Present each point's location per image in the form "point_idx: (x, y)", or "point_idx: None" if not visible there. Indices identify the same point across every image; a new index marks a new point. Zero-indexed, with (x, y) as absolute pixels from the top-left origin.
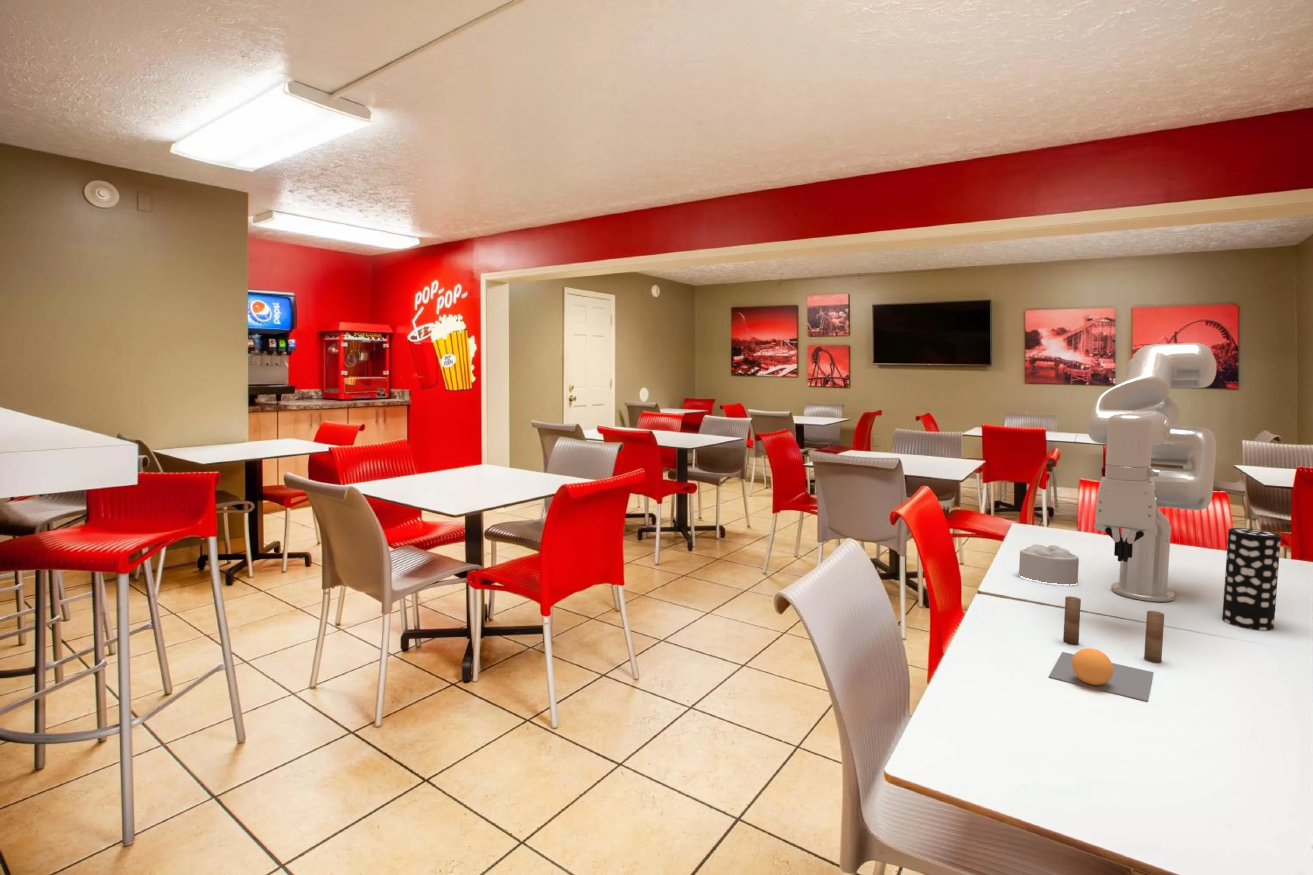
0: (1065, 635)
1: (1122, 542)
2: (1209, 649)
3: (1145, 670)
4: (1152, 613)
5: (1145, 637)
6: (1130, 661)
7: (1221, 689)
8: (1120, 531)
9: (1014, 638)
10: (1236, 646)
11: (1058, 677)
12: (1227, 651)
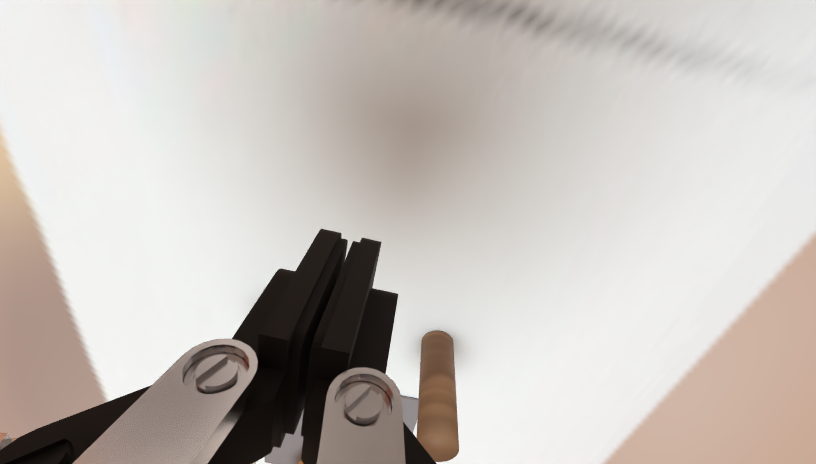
0: None
1: (289, 411)
2: (604, 222)
3: (410, 399)
4: (428, 452)
5: (419, 383)
6: (392, 363)
7: (519, 422)
8: (202, 458)
9: (173, 330)
10: (708, 159)
11: (278, 460)
12: (650, 217)
